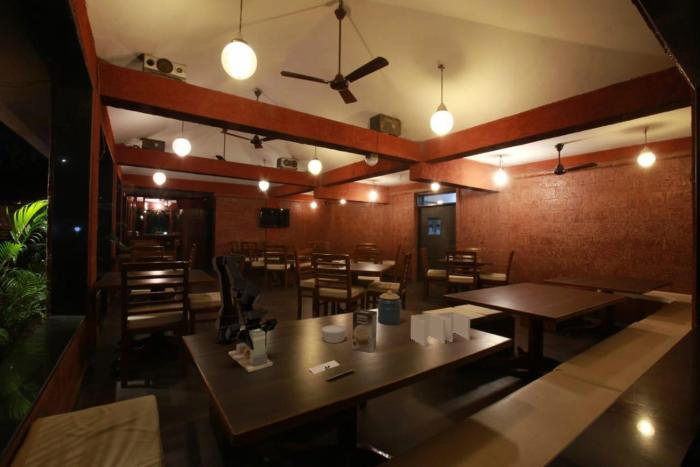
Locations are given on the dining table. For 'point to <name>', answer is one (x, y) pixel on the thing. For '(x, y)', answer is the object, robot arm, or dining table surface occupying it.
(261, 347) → the marker sleeve
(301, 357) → the dining table surface
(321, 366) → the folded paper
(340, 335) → the ramekin
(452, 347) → the dining table surface
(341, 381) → the dining table surface
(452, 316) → the white folding screen
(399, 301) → the canister
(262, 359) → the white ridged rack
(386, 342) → the dining table surface
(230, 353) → the cable comb board
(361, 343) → the coffee box
